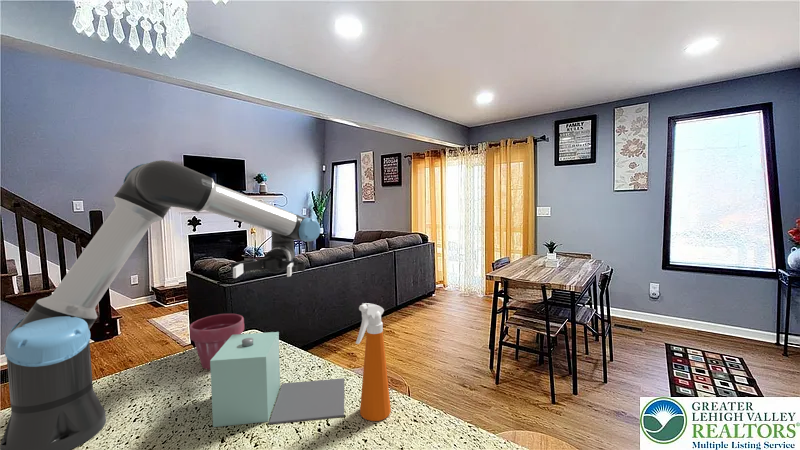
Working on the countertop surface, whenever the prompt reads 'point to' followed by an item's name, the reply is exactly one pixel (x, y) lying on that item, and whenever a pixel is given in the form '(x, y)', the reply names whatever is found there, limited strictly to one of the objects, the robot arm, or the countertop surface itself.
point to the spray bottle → (374, 366)
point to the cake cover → (245, 379)
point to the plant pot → (214, 334)
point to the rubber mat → (309, 401)
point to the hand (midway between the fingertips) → (261, 272)
